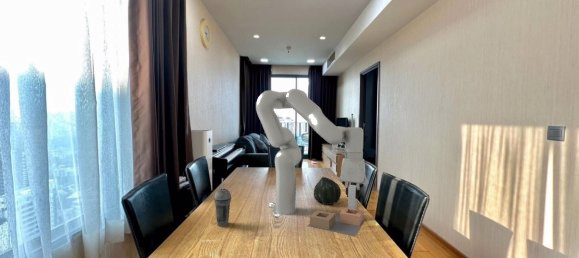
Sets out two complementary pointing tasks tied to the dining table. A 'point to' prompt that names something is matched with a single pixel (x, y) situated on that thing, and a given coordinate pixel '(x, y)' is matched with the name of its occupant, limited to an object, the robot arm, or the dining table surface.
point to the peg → (352, 197)
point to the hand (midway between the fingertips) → (352, 196)
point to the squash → (327, 191)
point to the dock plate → (338, 221)
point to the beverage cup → (222, 206)
